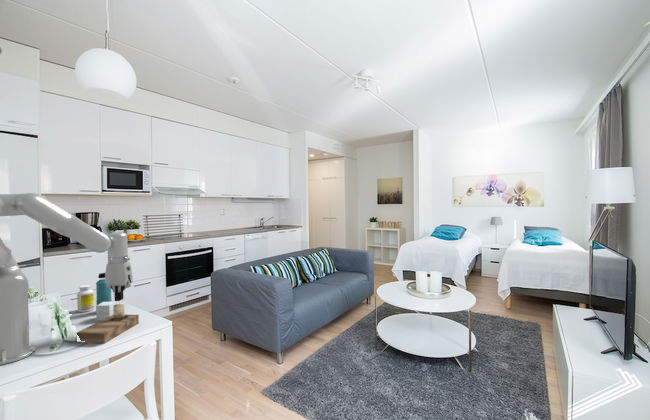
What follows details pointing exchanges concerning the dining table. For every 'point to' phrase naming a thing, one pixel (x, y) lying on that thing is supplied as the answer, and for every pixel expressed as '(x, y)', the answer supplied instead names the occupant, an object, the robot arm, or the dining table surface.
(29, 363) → the dining table surface
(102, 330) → the walnut board
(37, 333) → the dining table surface
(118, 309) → the beech peg
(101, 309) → the skincare box
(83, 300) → the supplement bottle
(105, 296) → the beverage bottle
